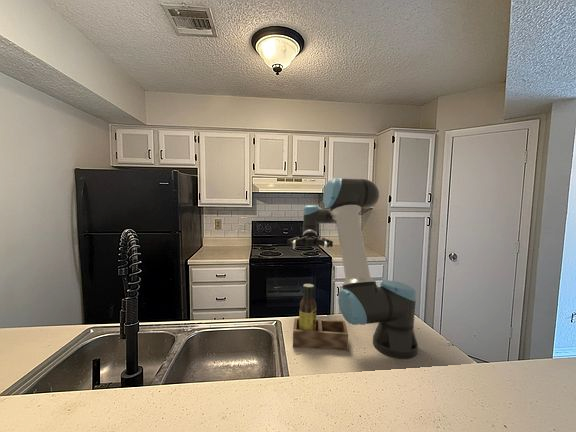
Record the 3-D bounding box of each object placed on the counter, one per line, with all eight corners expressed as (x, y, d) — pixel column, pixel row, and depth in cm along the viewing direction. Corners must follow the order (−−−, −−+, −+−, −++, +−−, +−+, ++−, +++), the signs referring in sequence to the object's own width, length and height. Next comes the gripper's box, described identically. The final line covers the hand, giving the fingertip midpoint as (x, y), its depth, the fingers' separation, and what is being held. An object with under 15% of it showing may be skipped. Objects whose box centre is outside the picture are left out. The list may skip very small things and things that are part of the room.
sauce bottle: (316, 342, 99) (318, 288, 97) (298, 342, 99) (300, 288, 97) (314, 333, 105) (316, 282, 104) (298, 333, 105) (299, 282, 104)
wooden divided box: (344, 335, 106) (344, 320, 106) (347, 350, 96) (348, 334, 96) (294, 332, 108) (294, 317, 107) (292, 347, 98) (293, 330, 97)
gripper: (335, 246, 136) (339, 256, 115) (284, 244, 138) (280, 254, 117) (335, 231, 136) (340, 238, 115) (285, 229, 138) (280, 236, 117)
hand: (309, 246), depth 116 cm, fingers open, 13 cm apart
